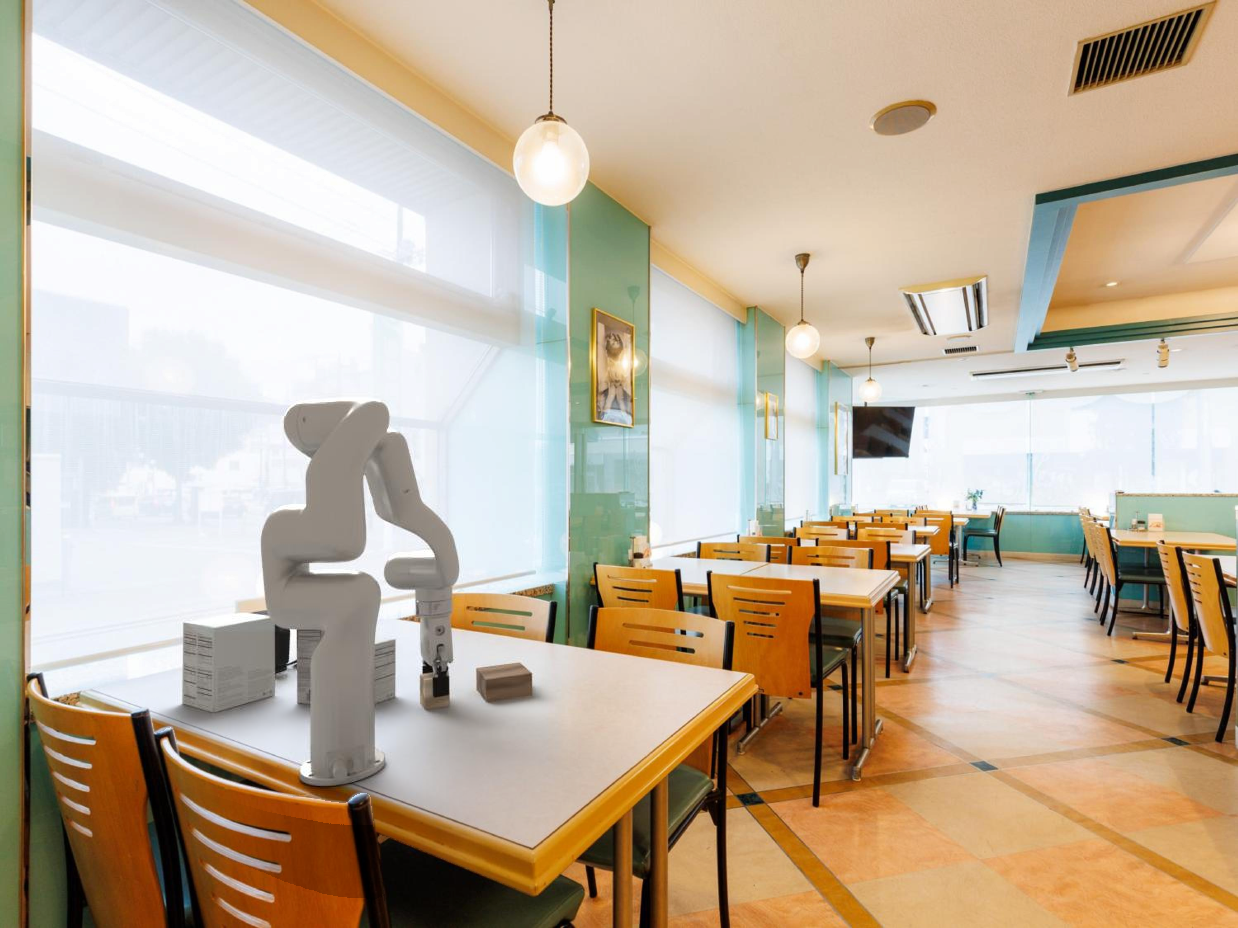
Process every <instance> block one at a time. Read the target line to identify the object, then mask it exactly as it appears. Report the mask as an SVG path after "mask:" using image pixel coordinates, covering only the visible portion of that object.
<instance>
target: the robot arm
mask: <svg viewBox="0 0 1238 928" xmlns="http://www.w3.org/2000/svg"><path fill="white" fill-rule="evenodd" d="M389 425H390V411H389V408H388V406H387V405H386V404H385V403H384V402H383V401H382V400H380V399H376V398H372V397H358V396H357V397H354V396H353V397H339V398H338V397H337V398H325V399H323V398H322V399H321V398H320V399H310V400H309V399H308V400H301V401H297V402H296V403H294V404H291V406H290V407H288V409H287V411H286V412H285V414H284V417H283V430H284V433H285V435H286V438H287V439H288V441H289V442H290V444H291V445H292V446H293V447H294V448H295V449H296V450H298V451H299V452H300V453H302V454H304V455H305V456H307V457H308V458H309V459H310V461H309V462H308V465H307V469H306V471H305V504H288V505H282V506H280V507H278V508H276V509H275V510H274V511H272V512H271V513H270V514H269V516H268V517H267V518H266V520H265V523H264V524H263V528H262V530H261V536H260V554H261V565H262V566H261V567H262V581H263V591H264V600H265V607H266V610H267V612H268V615H269V617H270V619H271V620H272V622H273V623H274V624H275V625H277V626H279V627H281V628H285V629H290V630H297V629H298V630H323V631H325V633H324V636H323V638H322V639H321V641H320V643H319V644H318V646H317V647H316V649H315V651H314V653H313V655H312V658H311V664H310V704H309V705H310V716H309V717H310V718H309V719H310V727H309V728H310V734H309V735H310V741H309V742H310V748H309V749H310V752H309V753H310V754H309V755H310V758H309V759H308V760H306V761H305V762H304V763H302V765H301V766H300V768H299V769H298V771H299V772H298V773H299V780H300V781H301V782H303V783H305V784H307V785H310V786H318V787H333V786H339V785H341V786H342V785H346V784H350V783H354V782H357V781H361V780H363V779H366V778H369V777H370V776H373V775H375V774H376V773H377V772H379V771H380V770H381V769H382V768H383V767H384V766H385V764H386V754H385V752H384V751H382V750H381V749H379V748H376V714H375V713H376V704H375V637H376V632H377V624H378V618H379V612H380V608H381V601H382V591H381V586H380V584H379V582H378V581H377V579H376V578H375V577H374V576H373V575H371V574H370V573H367V572H364V571H360V570H352V569H322V570H320V569H318V570H317V569H316V570H312V569H311V570H310V564H338V563H339V564H340V563H349V562H352V561H354V560H357V559H359V558H361V556H362V555H363V553H364V551H365V550H366V545H367V524H366V523H367V521H366V505H365V492H364V478H365V479H366V482H367V485H368V489H369V493H370V495H371V496H370V497H371V500H372V504H373V506H374V511H375V514H376V515H377V516H378V518H380V519H381V520H383V521H385V522H387V523H389V524H391V525H393V526H396V527H398V528H400V529H402V530H405V531H408V532H409V533H412V534H413V535H416V536H417V537H418V538H420V539H421V540H423V541H424V542H425V543H426V544H427V546H428V547H429V548H422V549H420V550H417V551H401V552H397V553H395V554H393V555H392V556H390V557H388V559H387V561H386V562H385V564H384V567H383V576H384V580H385V582H386V583H387V584H388V585H389V586H390V587H391V588H393V589H396V590H402V591H405V590H407V591H409V590H411V591H414V595H415V596H414V597H415V598H414V599H415V617H417V618H419V619H420V622H419V624H420V625H419V627H420V628H419V629H420V631H419V640H420V641H419V643H420V646H419V648H420V655H421V658H422V660H421V661H422V666H421V667H422V672H421V674H427V673H433V672H434V677H433V697H434V698H436V697H442V696H447V695H449V681H450V671H449V669H450V667H449V665H448V664H452V663H453V662H454V648H453V646H454V645H453V633H452V623H451V616H452V615H453V614H454V612H453V611H454V609H453V608H454V607H453V604H454V603H453V587H454V585H455V584H456V583H457V581H458V579H459V574H460V560H459V555H458V549H457V547H456V542H455V538H454V535H453V534H452V531H451V530H450V529H449V526H447V524H446V523H445V522H444V521H443V520H442V518H441V517H440V516H438V514H437V513H436V512H434V511H433V509H431V508H430V507H429V506H427V505H426V504H425V503H424V501H423V500H422V498H421V494H420V490H419V486H418V481H417V478H416V473H415V470H414V466H413V462H412V457H411V453H410V449H409V445H408V441H407V439H406V438H405V436H404V435H403V434H402V433H401V432H400V431H398V430H395V429H392V428H389ZM364 476H365V477H364ZM450 615H451V616H450Z"/></svg>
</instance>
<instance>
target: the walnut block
mask: <svg viewBox="0 0 1238 928" xmlns="http://www.w3.org/2000/svg"><path fill="white" fill-rule="evenodd" d="M475 671H476V672H475V675H476V677H475V679H476V681H475V682H476V691H477V692H478V694H479V695H480V697H481V698H482V699H483V700H484V702H485V703H491V702H497V701H504V700H509V699H510V700H511V699H516V698H517V699H518V698H524V697H532V696H533V673H532V672H531V671H530V670H529V669H528V668H527V667H526V666H525V665H523V664H522V663H521V662H514V663H505V664H498V665H497V664H495V665H489V666H482V667H476V668H475Z"/></svg>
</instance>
